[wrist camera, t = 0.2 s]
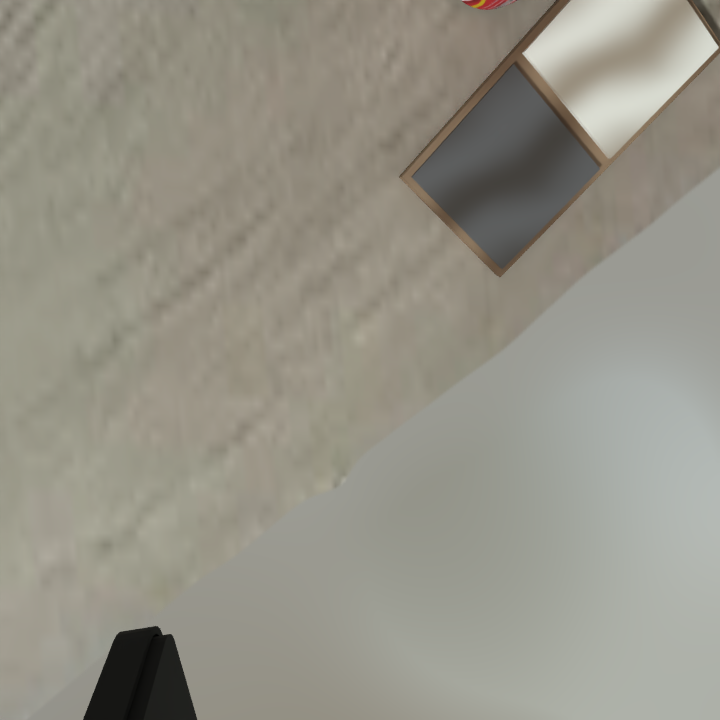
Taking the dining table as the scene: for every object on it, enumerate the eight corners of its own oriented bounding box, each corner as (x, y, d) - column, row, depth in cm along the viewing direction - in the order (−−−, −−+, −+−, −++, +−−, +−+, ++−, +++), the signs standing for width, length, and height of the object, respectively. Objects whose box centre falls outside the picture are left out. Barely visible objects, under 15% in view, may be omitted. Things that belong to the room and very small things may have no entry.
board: (398, 176, 41) (402, 177, 40) (626, -79, 37) (639, -88, 36) (495, 274, 44) (501, 278, 43) (714, 50, 40) (728, 47, 39)
